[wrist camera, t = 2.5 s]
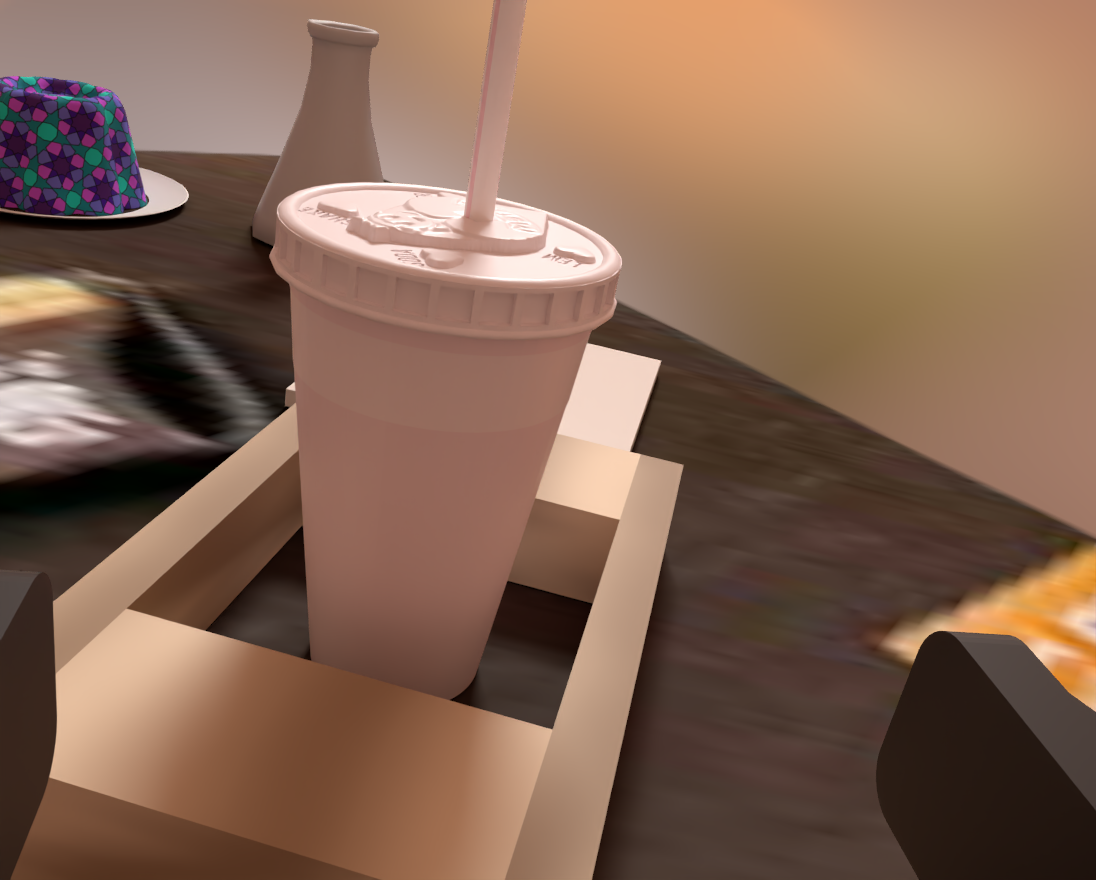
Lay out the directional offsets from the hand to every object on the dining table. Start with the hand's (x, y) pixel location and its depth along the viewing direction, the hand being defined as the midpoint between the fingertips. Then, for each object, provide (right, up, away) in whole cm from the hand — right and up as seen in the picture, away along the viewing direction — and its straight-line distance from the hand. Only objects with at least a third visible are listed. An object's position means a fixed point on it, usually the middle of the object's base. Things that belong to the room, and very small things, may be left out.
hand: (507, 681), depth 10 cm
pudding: (-24, +14, +41) cm, 49 cm away
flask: (-11, +12, +41) cm, 44 cm away
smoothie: (-3, -3, +14) cm, 14 cm away
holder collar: (-3, -3, +13) cm, 14 cm away
